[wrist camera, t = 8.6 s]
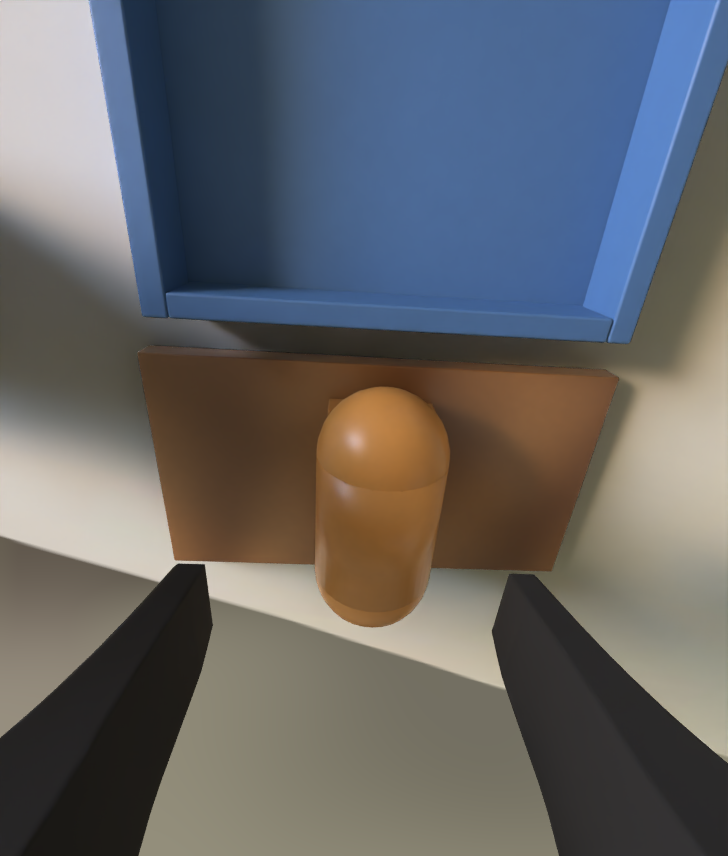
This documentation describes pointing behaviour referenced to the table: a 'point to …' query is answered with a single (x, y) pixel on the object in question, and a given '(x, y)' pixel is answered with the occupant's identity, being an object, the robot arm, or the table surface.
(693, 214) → the table surface
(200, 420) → the bread board
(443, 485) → the bread roll
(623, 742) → the robot arm
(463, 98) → the bread tray
